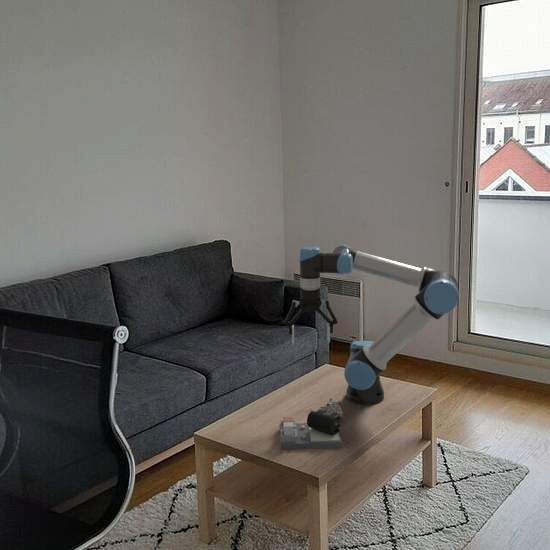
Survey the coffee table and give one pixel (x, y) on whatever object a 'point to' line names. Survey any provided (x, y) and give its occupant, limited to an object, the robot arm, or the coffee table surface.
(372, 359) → the robot arm
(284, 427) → the off-white switch
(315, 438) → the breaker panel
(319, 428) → the end cap
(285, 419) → the terracotta switch
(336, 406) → the game die
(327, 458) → the coffee table surface
